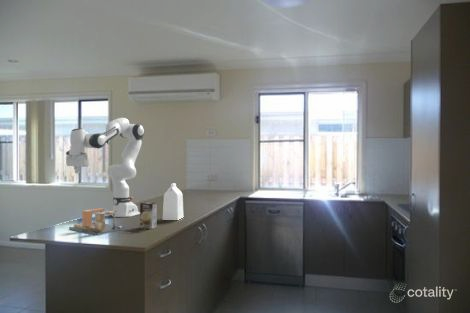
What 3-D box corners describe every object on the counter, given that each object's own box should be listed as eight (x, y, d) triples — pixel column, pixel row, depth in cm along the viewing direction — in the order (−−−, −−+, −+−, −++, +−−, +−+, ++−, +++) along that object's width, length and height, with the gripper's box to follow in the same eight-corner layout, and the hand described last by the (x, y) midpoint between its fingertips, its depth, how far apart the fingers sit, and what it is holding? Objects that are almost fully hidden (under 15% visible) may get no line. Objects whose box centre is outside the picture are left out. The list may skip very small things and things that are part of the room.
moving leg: (100, 223, 225) (100, 208, 225) (104, 224, 223) (104, 208, 223) (82, 227, 214) (82, 210, 214) (86, 228, 212) (86, 211, 212)
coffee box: (139, 228, 224) (139, 203, 223) (144, 226, 230) (144, 201, 230) (152, 229, 221) (152, 203, 221) (157, 226, 227) (157, 202, 227)
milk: (177, 221, 247) (178, 184, 247) (162, 220, 249) (162, 184, 249) (183, 218, 259) (183, 183, 258) (169, 217, 261) (169, 182, 261)
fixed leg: (91, 223, 230) (91, 207, 230) (117, 228, 216) (117, 211, 216) (73, 227, 219) (73, 209, 219) (99, 232, 205) (99, 214, 205)
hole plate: (97, 223, 235) (97, 220, 235) (124, 229, 220) (125, 225, 220) (69, 229, 218) (69, 225, 218) (97, 235, 203) (97, 231, 203)
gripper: (91, 152, 230) (91, 173, 230) (73, 152, 241) (72, 172, 241) (82, 152, 225) (82, 174, 225) (64, 152, 236) (64, 172, 236)
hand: (77, 173), depth 233 cm, fingers closed
